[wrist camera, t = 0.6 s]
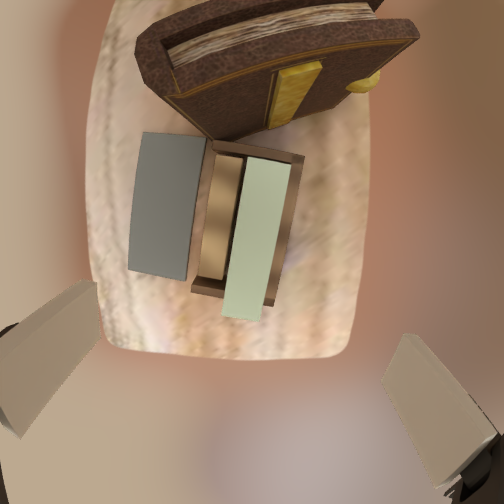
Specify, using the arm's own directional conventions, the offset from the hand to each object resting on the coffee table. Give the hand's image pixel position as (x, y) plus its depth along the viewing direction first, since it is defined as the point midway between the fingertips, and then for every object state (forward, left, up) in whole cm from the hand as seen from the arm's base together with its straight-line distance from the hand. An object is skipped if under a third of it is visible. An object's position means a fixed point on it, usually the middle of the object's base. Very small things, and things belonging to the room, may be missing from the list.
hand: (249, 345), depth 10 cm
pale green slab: (0, 0, -31) cm, 32 cm away
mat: (0, -14, -31) cm, 34 cm away
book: (-18, 0, -32) cm, 36 cm away
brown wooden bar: (0, -5, -31) cm, 32 cm away
